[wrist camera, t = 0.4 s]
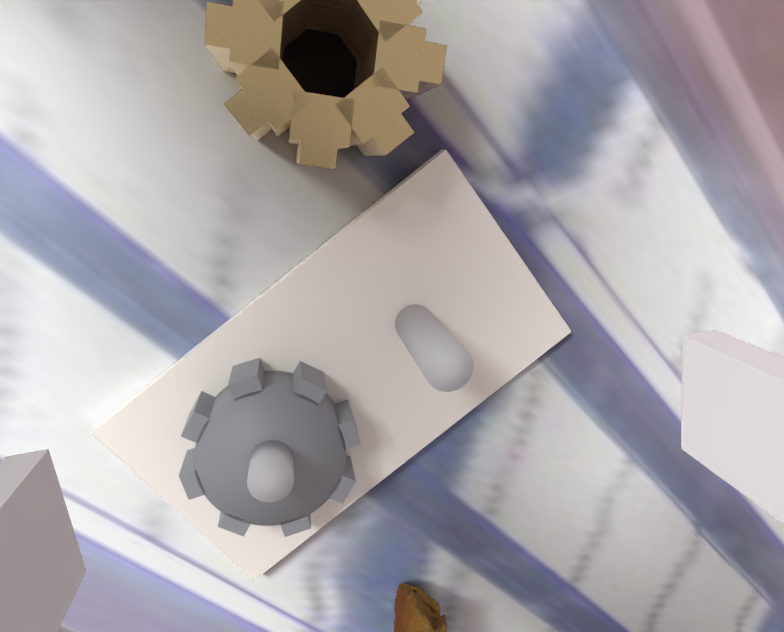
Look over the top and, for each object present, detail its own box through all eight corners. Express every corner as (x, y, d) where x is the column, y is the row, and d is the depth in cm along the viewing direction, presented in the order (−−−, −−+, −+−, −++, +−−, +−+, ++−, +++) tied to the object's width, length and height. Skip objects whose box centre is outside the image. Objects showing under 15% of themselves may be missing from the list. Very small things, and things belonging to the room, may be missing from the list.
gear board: (97, 424, 36) (36, 512, 27) (440, 149, 35) (492, 147, 26) (254, 568, 40) (246, 685, 31) (563, 326, 39) (643, 375, 30)
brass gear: (184, 48, 31) (151, 13, 24) (333, -74, 31) (348, -149, 23) (306, 201, 34) (312, 214, 27) (443, 91, 34) (488, 72, 26)
